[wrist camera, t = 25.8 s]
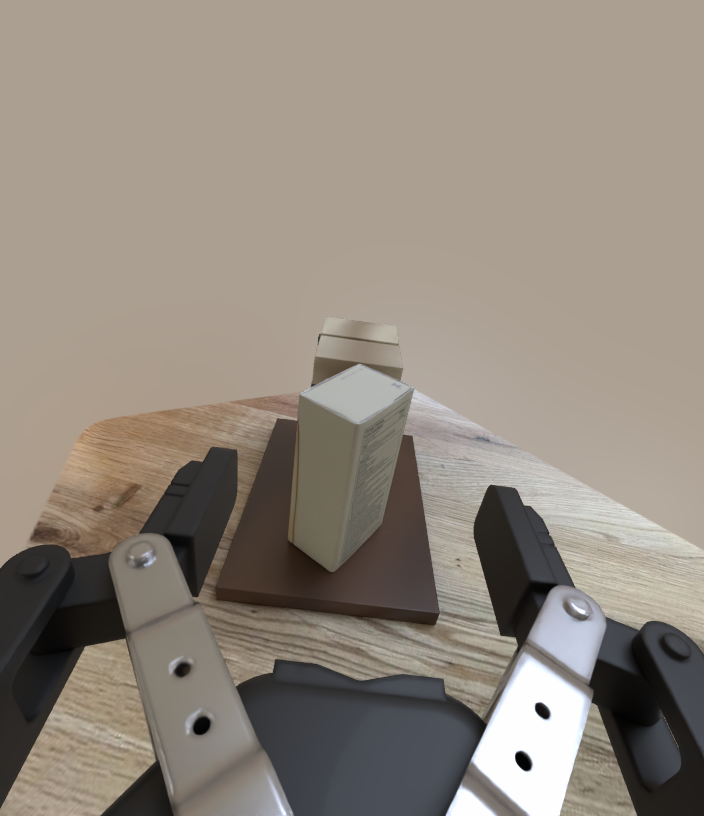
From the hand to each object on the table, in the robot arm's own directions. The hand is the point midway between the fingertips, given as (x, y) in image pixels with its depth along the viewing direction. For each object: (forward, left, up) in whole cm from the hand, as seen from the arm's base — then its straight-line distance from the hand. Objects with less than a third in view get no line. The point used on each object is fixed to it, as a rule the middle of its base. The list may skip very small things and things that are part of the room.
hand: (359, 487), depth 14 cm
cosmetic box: (+6, +10, -15) cm, 19 cm away
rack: (+8, +13, -16) cm, 22 cm away
